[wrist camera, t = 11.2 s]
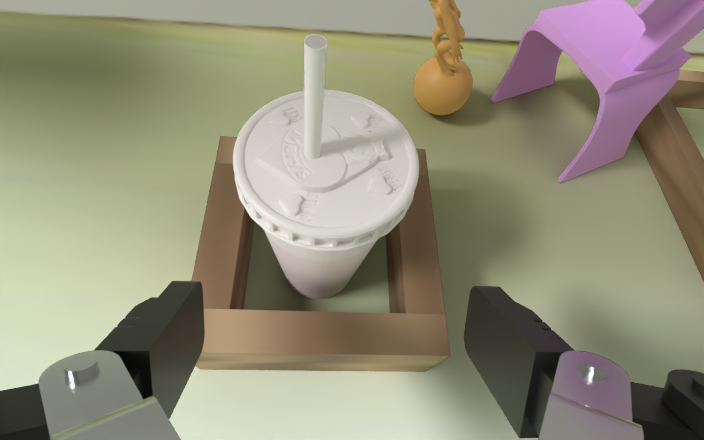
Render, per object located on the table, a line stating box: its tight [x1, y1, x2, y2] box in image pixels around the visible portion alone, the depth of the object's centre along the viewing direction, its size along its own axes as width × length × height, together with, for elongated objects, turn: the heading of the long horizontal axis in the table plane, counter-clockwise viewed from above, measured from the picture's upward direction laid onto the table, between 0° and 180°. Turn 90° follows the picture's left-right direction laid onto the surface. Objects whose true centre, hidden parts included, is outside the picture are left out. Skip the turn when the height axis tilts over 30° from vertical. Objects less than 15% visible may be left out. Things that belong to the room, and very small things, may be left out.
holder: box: [192, 136, 450, 372], centre depth 21 cm, size 11×11×4 cm
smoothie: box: [233, 34, 419, 299], centre depth 16 cm, size 6×6×14 cm
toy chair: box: [490, 0, 704, 183], centre depth 24 cm, size 8×9×15 cm
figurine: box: [413, 0, 472, 115], centre depth 24 cm, size 8×6×12 cm
